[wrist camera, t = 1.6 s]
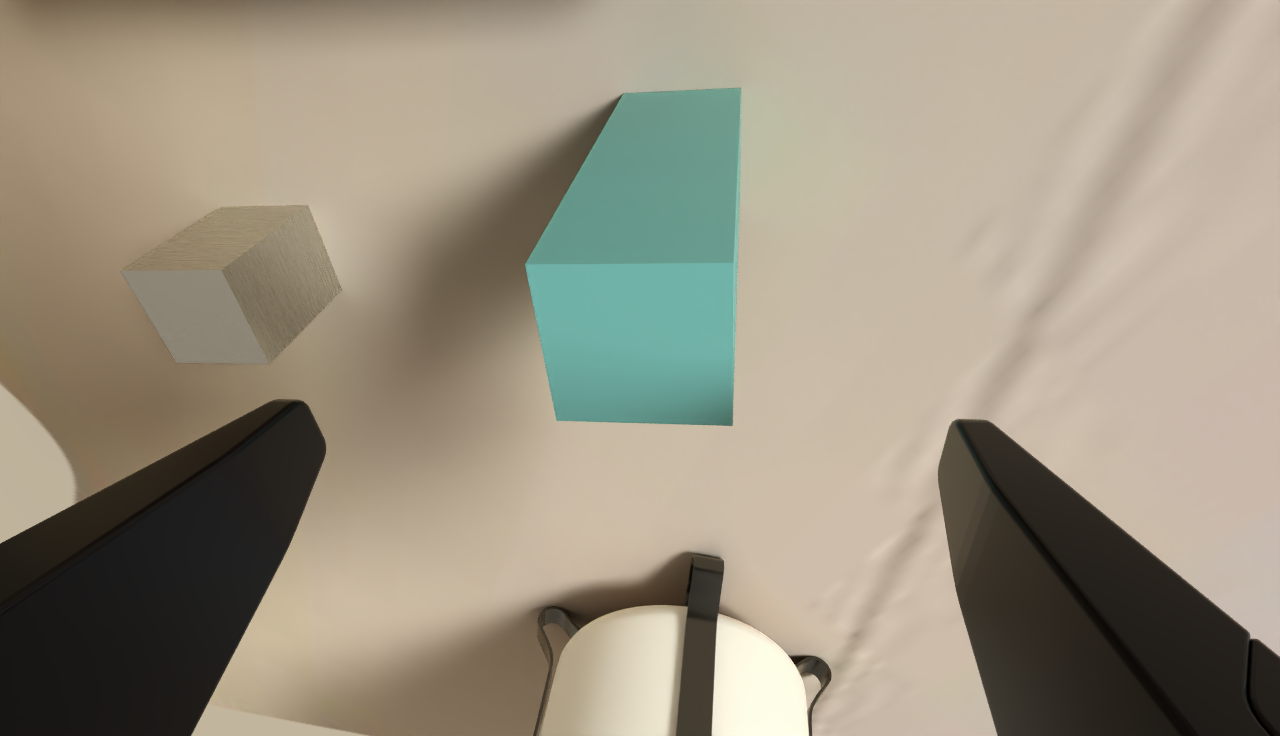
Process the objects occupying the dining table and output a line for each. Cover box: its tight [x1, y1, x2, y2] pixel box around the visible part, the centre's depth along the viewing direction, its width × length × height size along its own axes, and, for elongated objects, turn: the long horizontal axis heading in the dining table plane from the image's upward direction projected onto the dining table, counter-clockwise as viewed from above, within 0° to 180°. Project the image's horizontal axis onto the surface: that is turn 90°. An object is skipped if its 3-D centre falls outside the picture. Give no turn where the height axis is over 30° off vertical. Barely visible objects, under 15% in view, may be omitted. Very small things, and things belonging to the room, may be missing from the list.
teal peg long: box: [525, 88, 741, 426], centre depth 15 cm, size 3×3×10 cm
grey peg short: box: [120, 205, 342, 364], centre depth 21 cm, size 3×3×4 cm
